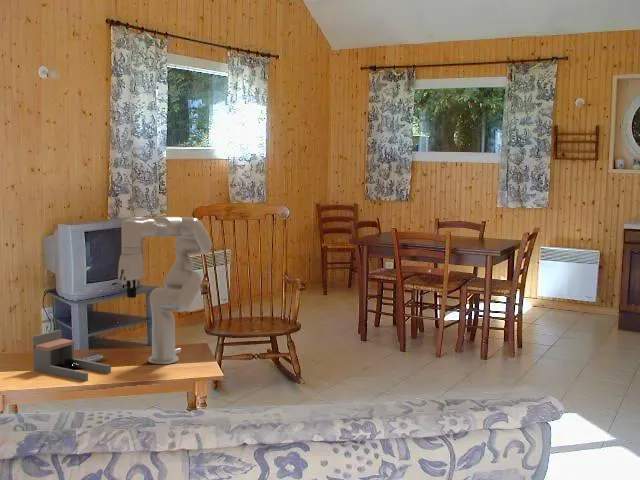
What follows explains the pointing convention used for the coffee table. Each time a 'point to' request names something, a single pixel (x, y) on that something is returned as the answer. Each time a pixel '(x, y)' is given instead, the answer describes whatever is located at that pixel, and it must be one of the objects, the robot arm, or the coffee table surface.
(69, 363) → the black block
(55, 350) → the grey forked stand
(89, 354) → the coffee table surface
